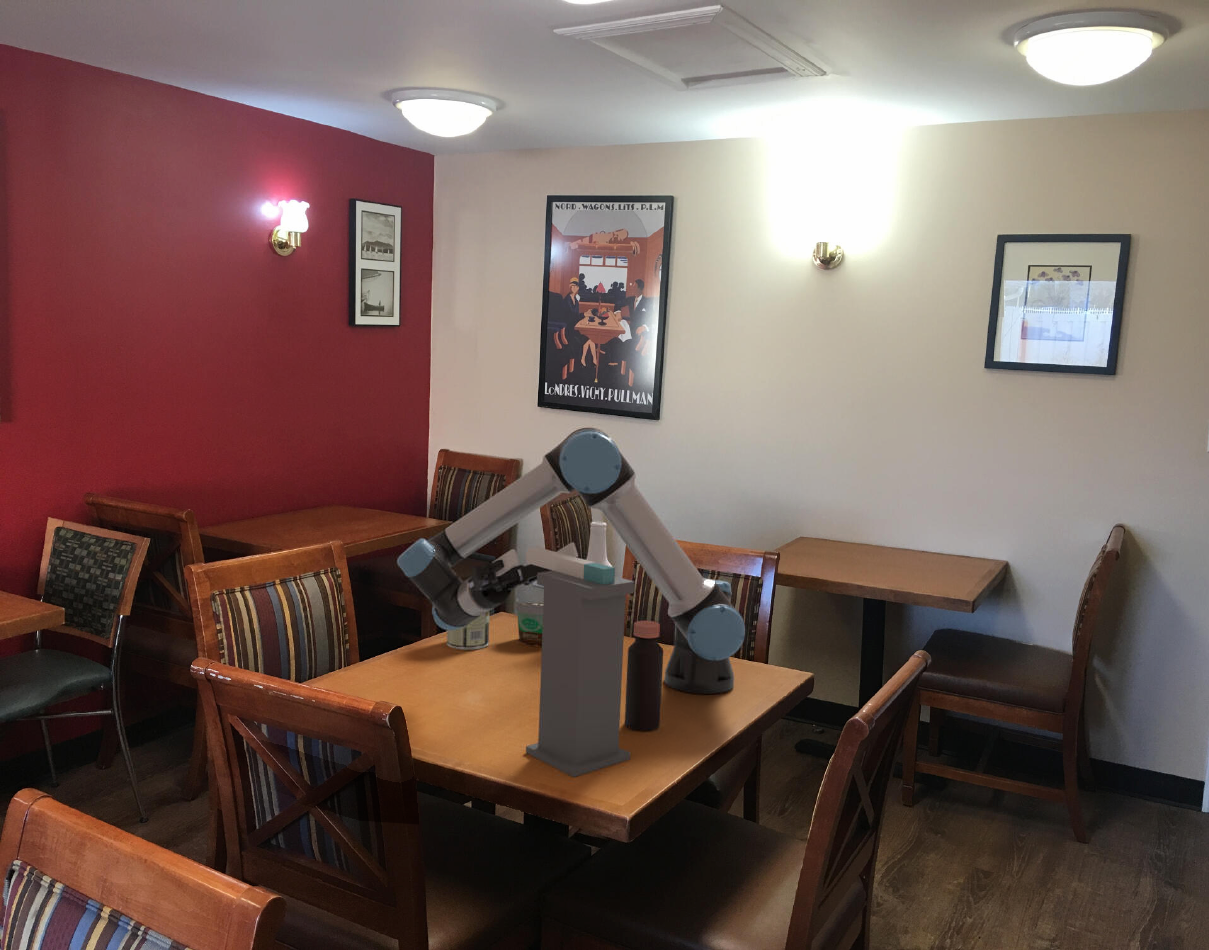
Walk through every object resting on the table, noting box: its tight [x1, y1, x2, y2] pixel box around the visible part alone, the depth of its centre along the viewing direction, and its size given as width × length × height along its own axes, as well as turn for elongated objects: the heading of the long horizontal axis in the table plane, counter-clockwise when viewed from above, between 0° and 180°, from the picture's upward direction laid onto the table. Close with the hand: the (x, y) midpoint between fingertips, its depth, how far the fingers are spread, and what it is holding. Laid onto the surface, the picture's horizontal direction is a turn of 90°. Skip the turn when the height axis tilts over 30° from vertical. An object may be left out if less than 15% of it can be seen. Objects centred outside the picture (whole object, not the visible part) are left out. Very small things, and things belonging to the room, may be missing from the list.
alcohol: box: [585, 521, 613, 567], centre depth 247 cm, size 9×9×30 cm
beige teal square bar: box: [525, 547, 616, 585], centre depth 176 cm, size 21×3×3 cm, turn 42°
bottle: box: [624, 620, 664, 732], centre depth 192 cm, size 7×7×20 cm
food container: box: [514, 598, 544, 646], centre depth 245 cm, size 12×6×10 cm, turn 81°
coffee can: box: [446, 611, 490, 651], centre depth 242 cm, size 10×10×14 cm
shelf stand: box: [525, 571, 635, 778], centre depth 175 cm, size 14×13×32 cm
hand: (545, 552), depth 181 cm, fingers open, 13 cm apart
